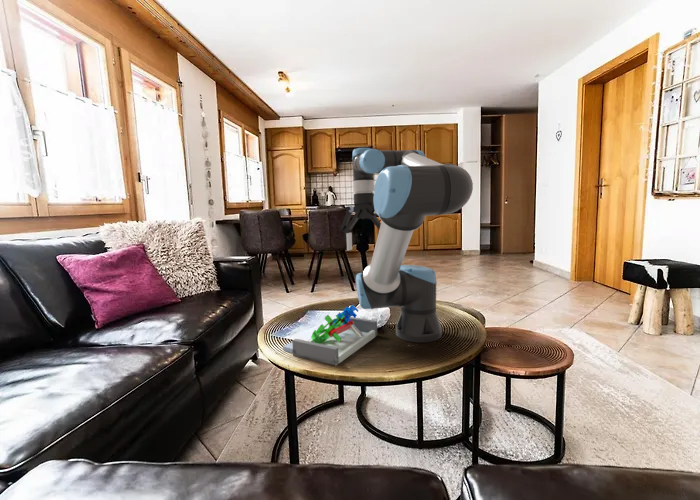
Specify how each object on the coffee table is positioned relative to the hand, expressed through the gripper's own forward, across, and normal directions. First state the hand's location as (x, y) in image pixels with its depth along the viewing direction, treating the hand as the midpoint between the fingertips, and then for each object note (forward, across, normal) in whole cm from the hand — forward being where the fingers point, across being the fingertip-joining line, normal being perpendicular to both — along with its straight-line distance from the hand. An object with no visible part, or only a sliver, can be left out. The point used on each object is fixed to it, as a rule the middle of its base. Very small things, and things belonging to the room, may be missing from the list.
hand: (365, 250), depth 133 cm
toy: (+27, 0, +24) cm, 36 cm away
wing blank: (+27, +8, +33) cm, 43 cm away
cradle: (+27, -2, +25) cm, 37 cm away
